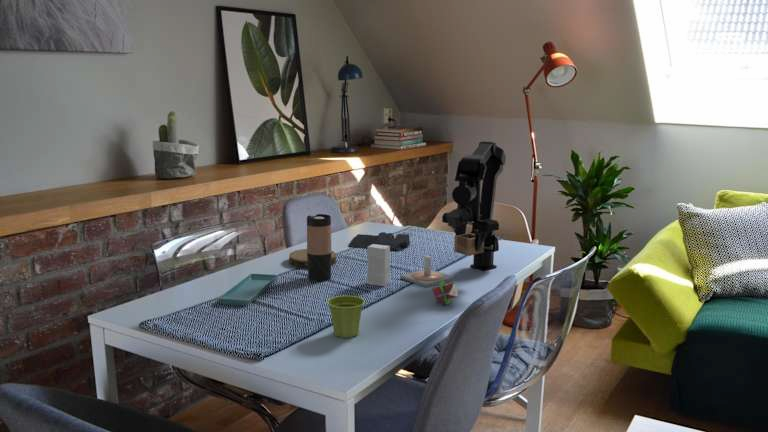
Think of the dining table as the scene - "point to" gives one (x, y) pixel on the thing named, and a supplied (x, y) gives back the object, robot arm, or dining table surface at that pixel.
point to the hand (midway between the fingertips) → (469, 248)
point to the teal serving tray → (247, 289)
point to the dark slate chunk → (381, 241)
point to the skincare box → (378, 264)
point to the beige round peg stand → (427, 275)
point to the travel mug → (319, 247)
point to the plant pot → (346, 315)
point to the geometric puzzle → (445, 292)
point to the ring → (466, 244)
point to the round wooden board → (304, 258)
